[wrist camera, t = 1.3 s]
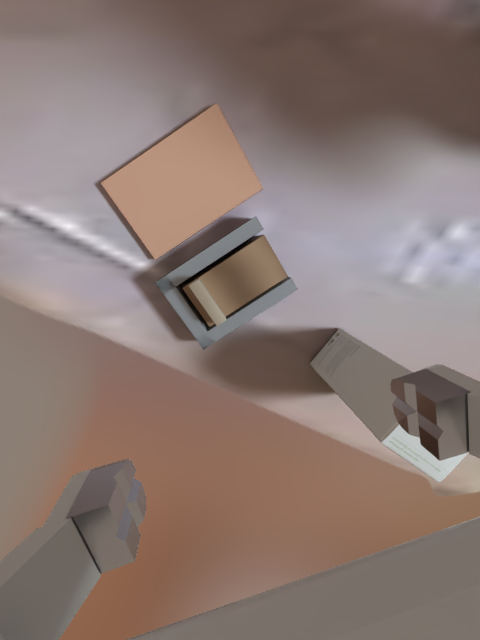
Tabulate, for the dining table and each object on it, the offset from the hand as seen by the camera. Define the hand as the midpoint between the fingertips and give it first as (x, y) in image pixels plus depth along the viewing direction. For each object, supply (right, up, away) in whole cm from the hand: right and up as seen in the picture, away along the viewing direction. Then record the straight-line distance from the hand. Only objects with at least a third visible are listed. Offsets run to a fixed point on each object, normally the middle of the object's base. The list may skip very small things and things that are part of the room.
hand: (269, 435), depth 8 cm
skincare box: (+13, -2, +29) cm, 32 cm away
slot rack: (-2, +8, +25) cm, 26 cm away
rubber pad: (-7, +18, +22) cm, 29 cm away
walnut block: (-2, +8, +25) cm, 26 cm away
